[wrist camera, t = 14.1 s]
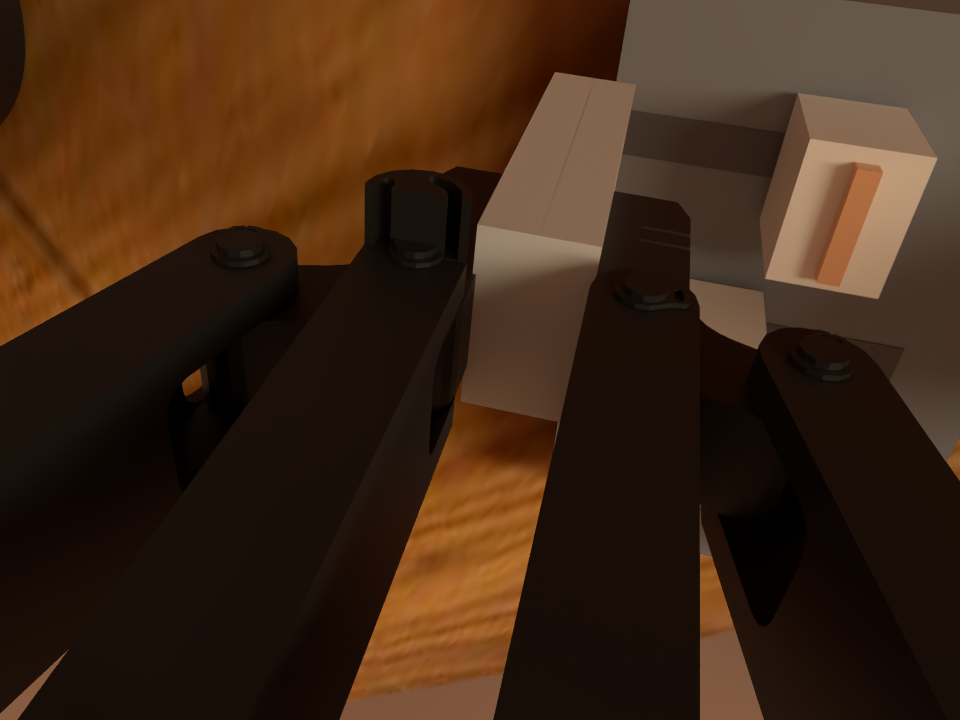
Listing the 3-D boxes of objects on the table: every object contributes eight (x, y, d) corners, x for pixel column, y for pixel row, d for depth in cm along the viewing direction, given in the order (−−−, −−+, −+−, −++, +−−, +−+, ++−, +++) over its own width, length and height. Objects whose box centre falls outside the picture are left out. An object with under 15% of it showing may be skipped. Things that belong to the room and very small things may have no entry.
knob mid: (649, 370, 30) (639, 448, 26) (672, 275, 27) (665, 346, 24) (732, 387, 29) (733, 468, 26) (763, 291, 27) (769, 367, 23)
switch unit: (558, 451, 40) (540, 523, 36) (647, -52, 27) (634, -26, 23) (853, 515, 38) (869, 601, 34) (1105, 3, 25) (1180, 42, 21)
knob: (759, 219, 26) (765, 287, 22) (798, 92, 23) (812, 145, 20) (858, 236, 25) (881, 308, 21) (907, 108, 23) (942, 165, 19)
